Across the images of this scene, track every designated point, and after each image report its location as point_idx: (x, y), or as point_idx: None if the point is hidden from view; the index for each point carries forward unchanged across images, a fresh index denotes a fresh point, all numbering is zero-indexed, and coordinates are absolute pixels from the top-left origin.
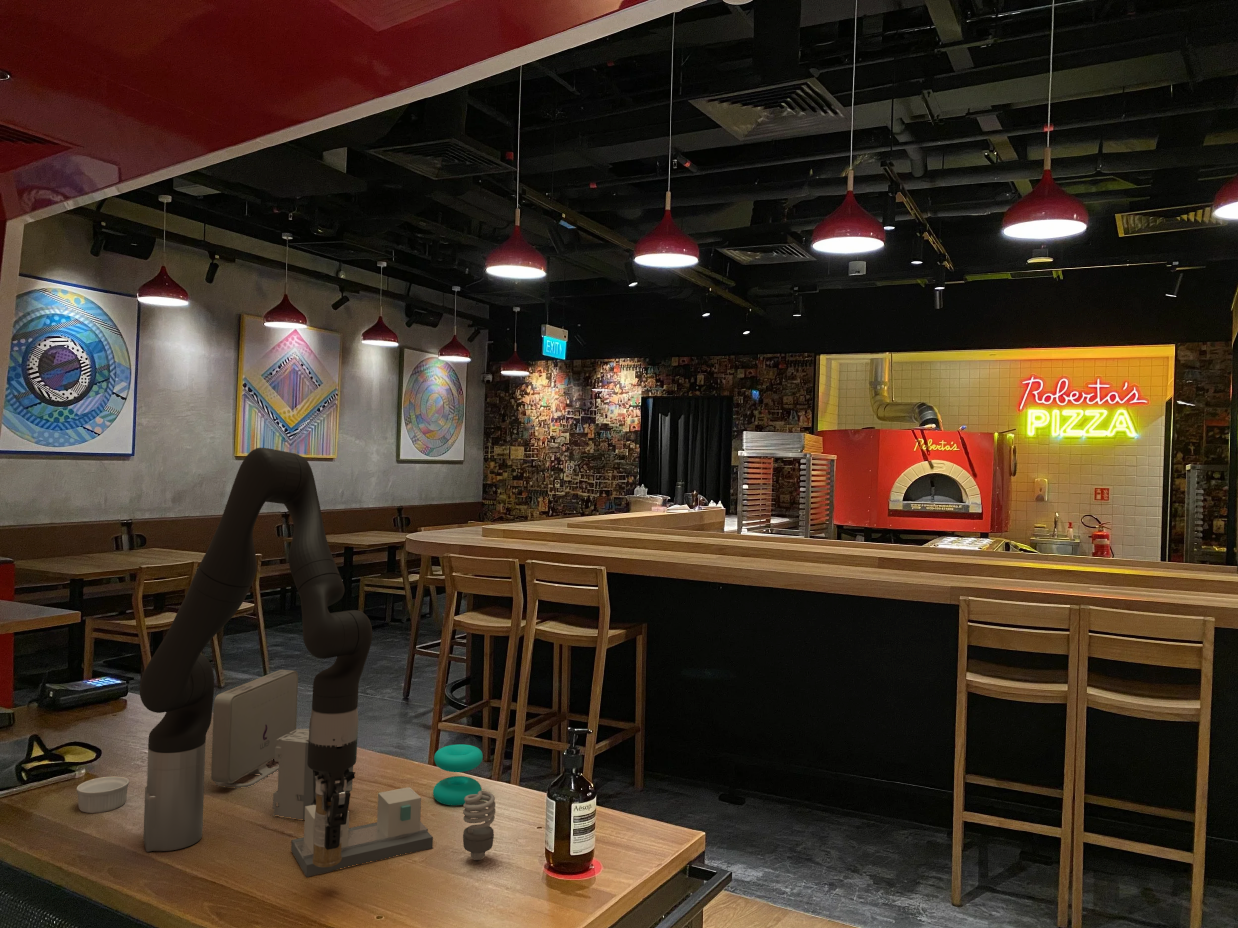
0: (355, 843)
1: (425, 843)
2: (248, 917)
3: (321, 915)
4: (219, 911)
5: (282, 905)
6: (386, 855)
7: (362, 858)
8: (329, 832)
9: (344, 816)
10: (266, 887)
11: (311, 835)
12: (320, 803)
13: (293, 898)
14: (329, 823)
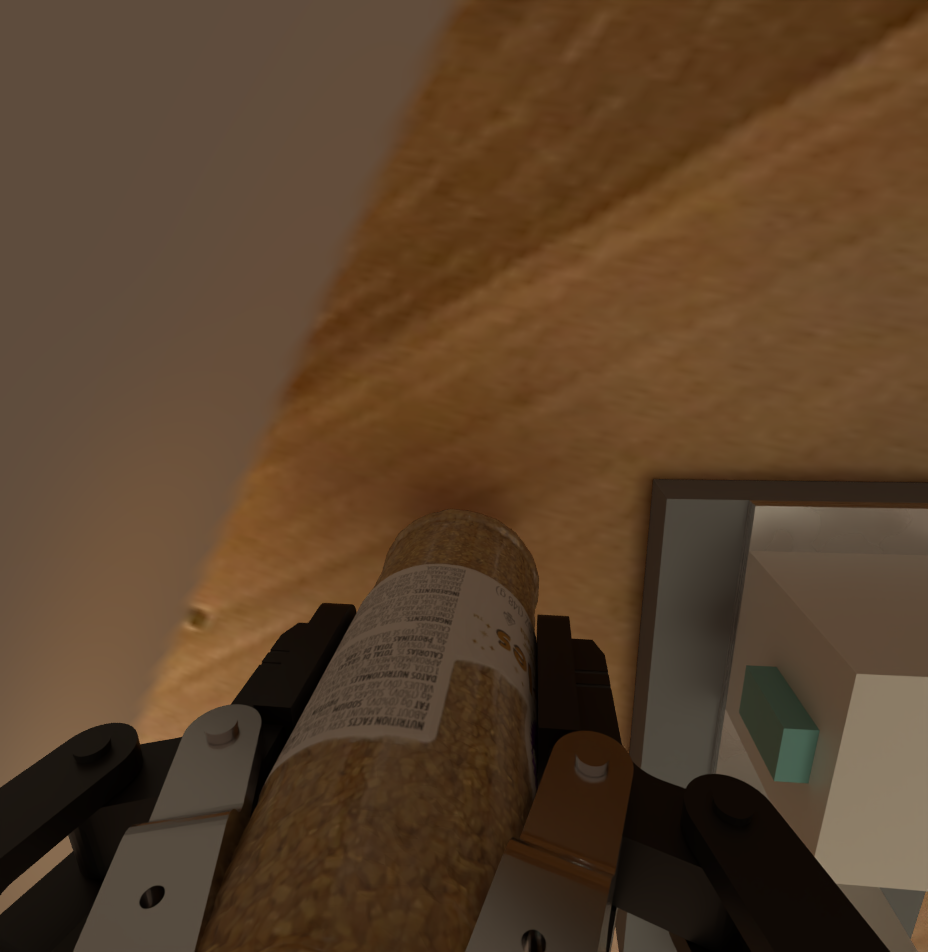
0: (735, 742)
1: (620, 925)
2: (397, 154)
3: (284, 448)
4: (528, 12)
5: (438, 324)
6: None
7: (639, 715)
8: (257, 689)
9: (22, 901)
10: (657, 289)
11: (831, 596)
12: (257, 863)
13: (479, 381)
14: (76, 747)
